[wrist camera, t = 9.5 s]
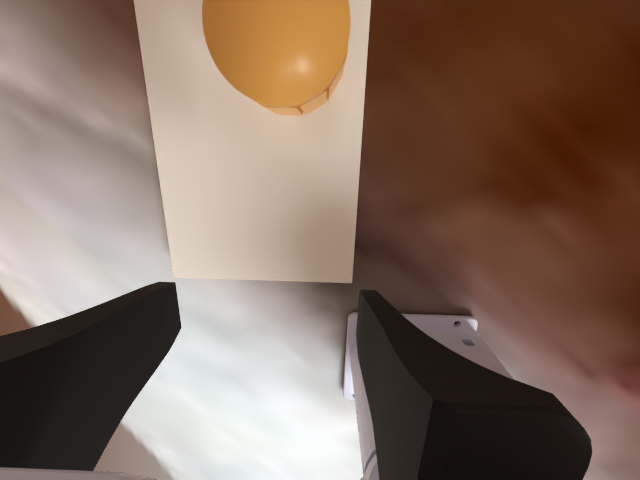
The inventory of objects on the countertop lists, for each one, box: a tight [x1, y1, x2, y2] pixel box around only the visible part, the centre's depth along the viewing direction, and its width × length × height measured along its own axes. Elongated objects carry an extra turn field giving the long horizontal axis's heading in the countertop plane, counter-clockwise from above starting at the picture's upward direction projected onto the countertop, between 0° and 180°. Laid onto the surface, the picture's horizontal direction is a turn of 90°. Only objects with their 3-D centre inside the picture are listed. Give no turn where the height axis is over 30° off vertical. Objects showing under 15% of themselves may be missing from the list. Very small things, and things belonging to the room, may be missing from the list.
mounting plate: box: [134, 0, 371, 283], centre depth 16 cm, size 12×18×5 cm, turn 179°
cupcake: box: [202, 0, 351, 116], centre depth 13 cm, size 6×6×5 cm
